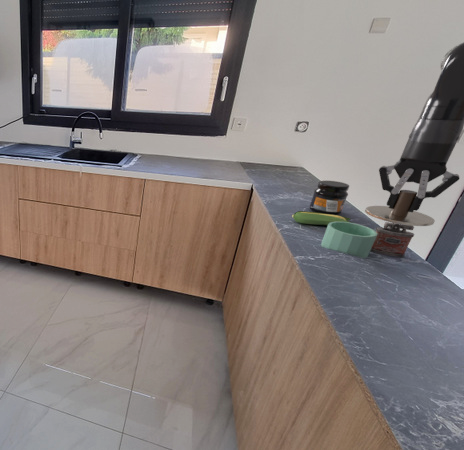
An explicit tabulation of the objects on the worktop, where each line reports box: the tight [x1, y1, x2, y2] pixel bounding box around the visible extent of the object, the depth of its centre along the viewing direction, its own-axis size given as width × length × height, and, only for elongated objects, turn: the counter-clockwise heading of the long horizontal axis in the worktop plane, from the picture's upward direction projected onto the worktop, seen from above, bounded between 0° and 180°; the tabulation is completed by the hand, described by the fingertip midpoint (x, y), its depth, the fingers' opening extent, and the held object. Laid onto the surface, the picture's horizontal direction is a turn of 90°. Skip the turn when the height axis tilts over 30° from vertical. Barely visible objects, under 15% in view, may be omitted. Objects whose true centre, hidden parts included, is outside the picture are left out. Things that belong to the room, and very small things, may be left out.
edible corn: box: [291, 210, 352, 226], centre depth 115 cm, size 5×20×5 cm, turn 70°
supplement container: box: [309, 180, 350, 216], centre depth 126 cm, size 10×10×12 cm
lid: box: [364, 189, 435, 227], centre depth 78 cm, size 12×12×7 cm
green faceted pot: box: [320, 221, 378, 259], centre depth 97 cm, size 11×11×8 cm
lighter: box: [370, 221, 415, 258], centre depth 94 cm, size 8×3×10 cm, turn 55°
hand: (400, 209), depth 78 cm, fingers closed on lid, 3 cm apart
